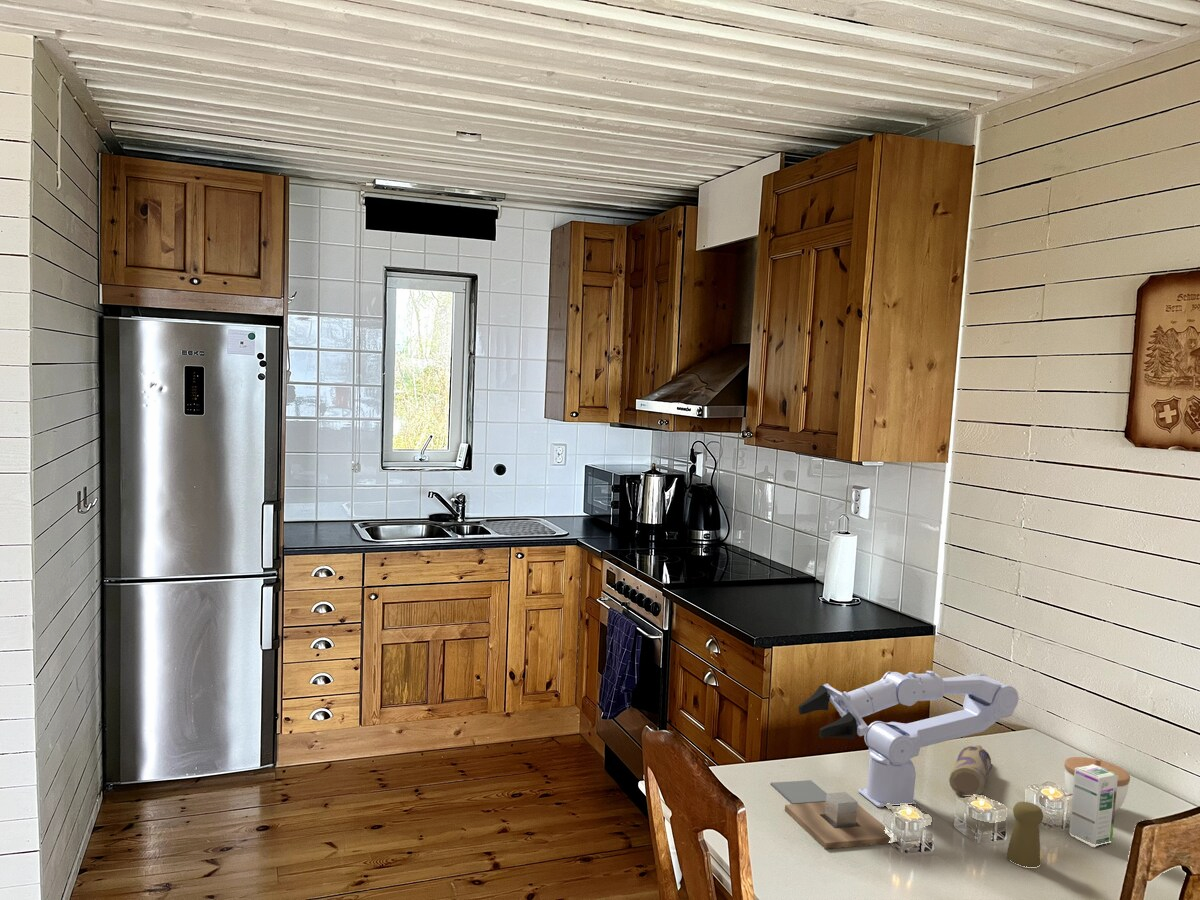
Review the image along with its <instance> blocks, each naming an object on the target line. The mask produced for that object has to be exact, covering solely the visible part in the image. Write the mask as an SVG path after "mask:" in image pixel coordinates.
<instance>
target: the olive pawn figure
mask: <svg viewBox="0 0 1200 900" xmlns="http://www.w3.org/2000/svg"><path fill="white" fill-rule="evenodd" d="M1012 813H1013V817H1014V819H1015V820H1014V824H1013V828H1012V831H1011V835H1010V839H1009V843H1008V845H1007V852H1006V855H1007V858H1008V859H1009V860H1011V861H1012V862H1014V863H1016V864H1019V865H1021V866H1025V867H1026V866H1027V867H1037V866H1039V865H1040V864H1041V842H1040V839H1041V838H1040V825H1041V824H1042V822H1043V821H1044V812H1043V810H1042V808H1041V807H1040V806H1039V805H1037V804H1034V803H1032V802H1029V801H1019V802H1018V801H1017V803H1015V805H1014V806H1013V809H1012ZM1006 855H1005V856H1006ZM1007 858H1006V859H1007ZM1008 859H1007V860H1008ZM1009 860H1008V861H1009Z"/></svg>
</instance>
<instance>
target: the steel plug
mask: <svg viewBox="0 0 1200 900" xmlns="http://www.w3.org/2000/svg"><path fill="white" fill-rule="evenodd" d="M826 793H827V795H826V806H825V817H824V819H825V820H826V821H827V822H828V823H829V824H830V825H831V826H833V827H834V828H835V829H836V828H848V827H855V826H856V815H857V805H859V804H858V801H857V800H856V799H855V798H854V797H853V796H851V795H850V794H849V793H847V792H846V791H841V792H826Z"/></svg>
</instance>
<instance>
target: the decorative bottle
mask: <svg viewBox="0 0 1200 900" xmlns="http://www.w3.org/2000/svg"><path fill="white" fill-rule="evenodd" d="M992 767H993V764H992V759H991V756H990V754H989V753H988V751H986V749H984V748H983V747H982V745H980V744H979V745H968V746H966V747H963V748H962V749H961V750H960V752H959V754H958V756H957V759H956V761H955V764H954V766H953V769H952V770H951V772H950V774H949V777H948V781H949V786H950V787H951V789H952V790H953V792H955V793H956V794H958V795H959V794H960V795H959V796H962V795H973V794H979V795H980V794H981V793H982V792H983V791H984V790H985V786H986V780H987V777H988V775H989V773H990V772H991V770H992Z"/></svg>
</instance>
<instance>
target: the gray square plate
mask: <svg viewBox="0 0 1200 900" xmlns="http://www.w3.org/2000/svg"><path fill="white" fill-rule="evenodd" d="M770 785H771V786H772V788H774V789H775V790H776V791H777V792H778V793H779V794H780V795H781V796H782V797H784V798H785V799H786V800H787V801H788V802H789V803H790V804H803V803H817V802H826V795H827V793H828V792H826V791H825V790H823V789H822V788H821V787H820V786H819V785H818V784H816V783H815V782H814V781H812V780H811V779H809V780H807V779H805V780H791V781H775V782H770Z"/></svg>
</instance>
